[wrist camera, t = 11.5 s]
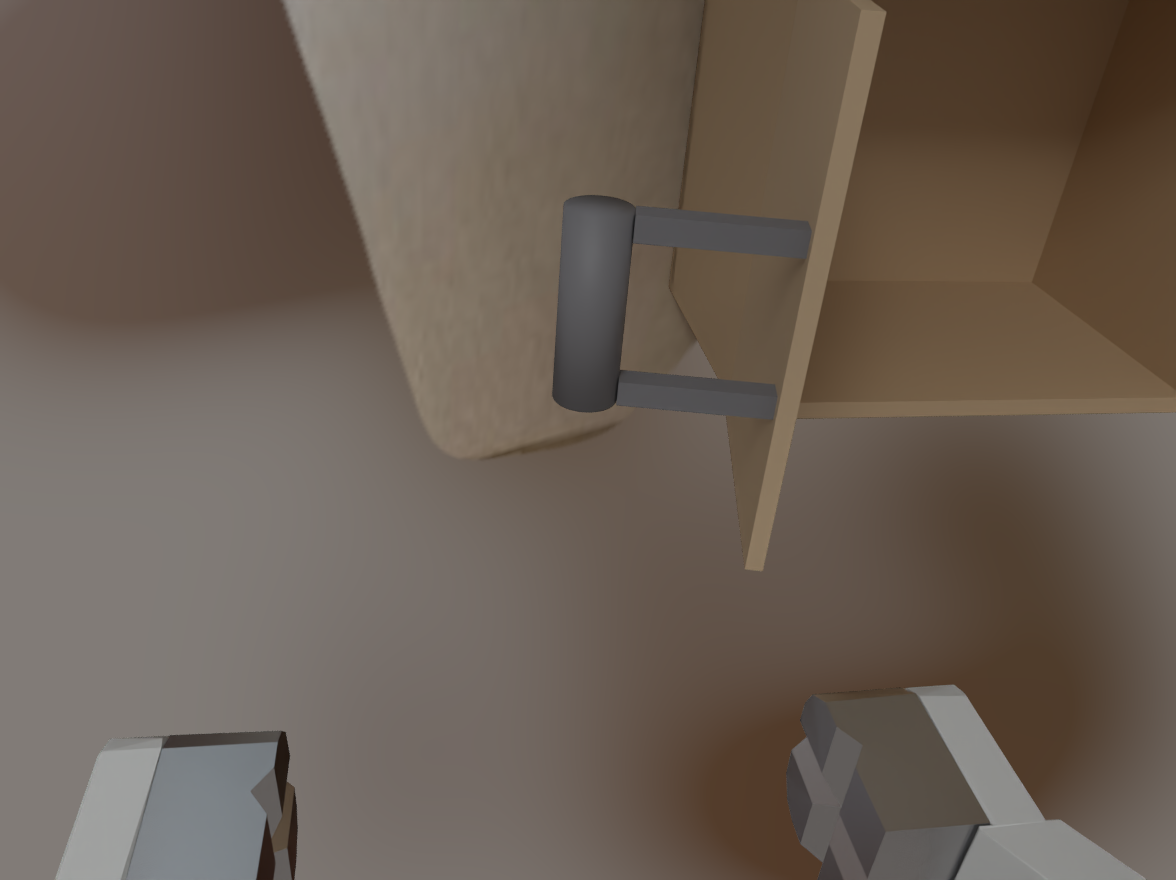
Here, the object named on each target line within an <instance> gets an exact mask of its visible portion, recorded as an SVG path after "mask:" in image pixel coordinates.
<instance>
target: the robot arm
mask: <svg viewBox="0 0 1176 880" xmlns="http://www.w3.org/2000/svg"><path fill="white" fill-rule="evenodd" d="M800 721H801V723H802V726H803V729H804V731H805V734H806V736H807V737H806V738H805V739H804V740H803V741H802V742H800V743H799V744H798V745H797V746H796V747H795V748H794V749H792V751H791V755H790V759H789V764H788V768H787V772H786V775H787V800H788V804H789V809H790V813H791V818H792V822H793V825H794V827H795V830H796V833H797V836H798V839H799V841H800V844H801V845H802V846H804V847H805V848H806V849H807V850H808V851H809V852H811V853H812V854H813V855H814V856H815V857H817V858H818V859H819V860H820V861H821V862H822V863H823V864H822V867H821V870H820V874H819V877H818V880H1147V879H1145V878H1144V877H1142V876H1141V875H1140V874H1138V873H1137V872H1135V871H1134V870H1132V869H1131V868H1129V867H1128V866H1126V865H1125V864H1124V863H1122V862H1121V861H1119V860H1117V859H1116V858H1115V857H1113V856H1112V855H1110V854H1109V853H1108V852H1106V851H1105V850H1103V849H1102V848H1100V847H1099V846H1097V845H1096V844H1095V843H1093V842H1092V841H1090V840H1089V839H1087V838H1086V837H1084V836H1083V835H1082V834H1080V833H1079V832H1077V831H1076V830H1074V829H1073V828H1071V827H1070V826H1068V825H1067V824H1066V823H1064V822H1062V821H1061V820H1060V819H1059V820H1045V819H1044V817H1043V815H1042V814H1041V812H1040V811H1039V809H1038V808H1037V806H1036V805H1035V803H1034V801H1033V800H1032V798H1031V797H1030V795H1029V794H1028V792H1027V790H1026V789H1025V787H1024V786H1023V784H1022V783H1021V781H1020V779H1019V778H1018V776H1017V775H1016V773H1015V772H1014V770H1013V768H1012V767H1011V765H1010V764H1009V763H1008V761H1007V759H1006V757H1005V756H1004V754H1003V753H1002V751H1001V750H1000V748H999V746H998V745H997V743H996V742H995V740H994V739H993V737H992V736H991V734H990V732H989V731H988V729H987V728H986V726H985V725H984V723H983V721H982V720H981V718H980V717H979V715H978V714H977V712H976V710H975V709H974V707H973V706H972V704H971V703H970V701H969V700H968V698H967V696H966V695H965V694H964V692H963V691H961V690H960V689H958V688H957V687H956V686H955V685H942V686H929V687H913V688H906V689H903V688H889V689H875V690H863V691H850V692H838V693H825V694H813V695H812V696H811V697H810V698H809V699H808V700H807V702H806V703H805V705H804V709H803V712H802V715H801V719H800ZM289 760H290V753H289V747H288V742H287V736H286V732H284V731H263V732H240V733H239V732H238V733H213V734H191V735H190V734H189V735H170V736H154V737H134V738H114V739H110V740H109V741H108V743H107V744H106V745H105V747H104V748H103V749H102V751H101V752H100V754H99V755H98V757H97V760H96V763H95V766H94V769H93V772H92V775H91V777H90V780H89V783H88V786H87V789H86V792H85V795H84V797H83V801H82V803H81V806H80V809H79V812H78V815H77V818H76V821H75V824H74V826H73V829H72V832H71V835H70V838H69V841H68V844H67V846H66V849H65V852H64V855H63V858H62V861H61V864H60V867H59V870H58V872H57V875H56V878H55V880H294V878H295V869H296V857H297V855H296V854H297V832H298V825H297V804H296V796H295V788H294V787H293V786H292V785H291V784H289V783H288V782H287V775H288V768H289Z"/></svg>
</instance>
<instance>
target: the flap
mask: <svg viewBox="0 0 1176 880" xmlns="http://www.w3.org/2000/svg"><path fill="white" fill-rule="evenodd" d="M885 17H886V11H885V10H883V9H882V8H881V7H879V6H878V5H877V4H875V3H874V2H872V1H871V0H798V2H797V8H796V14H795V20H794V25H793V31H792V37H791V42H790V48H789V54H788V60H787V65H786V71H785V77H784V83H783V88H782V94H781V100H780V105H779V111H778V117H777V123H776V128H775V134H774V140H773V146H772V151H771V157H770V163H769V169H768V174H767V180H766V186H765V191H764V197H763V203H762V209H761V214H760V217H756V216H745V215H734V214H723V213H712V212H701V211H689V210H678V209H667V208H656V207H645V206H636V208H635V207H634V206H633V205H632V204H631V203H629V202H627V201H624V200H621V199H618V198H614V197H608V196H599V195H585V196H577V197H573V198H570V199H568V200H566V201H565V202H564V208H563V224H562V241H561V258H560V274H559V291H558V308H557V324H556V341H555V358H554V374H553V391H552V396H553V399H554V400H555V401H556V402H557V403H558V404H559V405H561V406H562V407H564V408H567V409H569V410H573V411H578V412H599V411H603V410H606V409H608V408H610V407H612V406H613V405H614V404H615V403H616V400H617V403H616V405H619V406H630V407H640V408H652V409H662V410H673V411H684V412H694V413H705V414H716V415H726V420H727V428H728V436H729V445H730V453H731V461H732V469H733V478H734V486H735V493H736V501H737V511H738V519H739V527H740V535H741V543H742V552H743V559H744V567H745V570H755V571H763V567H764V563H765V558H766V554H767V549H768V545H769V540H770V536H771V531H772V527H773V522H774V518H775V513H776V509H777V504H778V500H779V495H780V491H781V486H782V482H783V477H784V472H785V468H786V464H787V459H788V455H789V450H790V446H791V441H792V436H793V432H794V428H795V423H796V419H797V414H798V409H799V405H800V400H801V396H802V391H803V387H804V382H805V378H806V373H807V369H808V364H809V360H810V355H811V351H812V346H813V342H814V337H815V333H816V328H817V324H818V319H819V315H820V310H821V306H822V301H823V297H824V292H825V288H826V283H827V279H828V274H829V270H830V265H831V261H832V256H833V251H834V247H835V242H836V238H837V233H838V229H839V224H840V220H841V215H842V211H843V206H844V202H845V197H846V193H847V188H848V184H849V179H850V175H851V170H852V166H853V161H854V157H855V152H856V148H857V143H858V139H859V134H860V130H861V125H862V121H863V116H864V112H865V107H866V103H867V98H868V93H869V89H870V84H871V80H872V75H873V71H874V66H875V62H876V57H877V53H878V48H879V44H880V39H881V35H882V30H883V26H884V21H885ZM633 243H636V244H647V245H658V246H669V247H680V248H691V249H702V250H713V251H724V252H735V253H746V254H754V255H753V260H752V266H751V272H750V277H749V283H748V289H747V295H746V300H745V306H744V312H743V318H742V323H741V329H740V335H739V341H738V346H737V352H736V358H735V363H734V369H733V375H732V380H723V379H712V378H702V377H691V376H679V375H669V374H658V373H648V372H637V371H626V370H620V362H621V352H622V343H623V333H624V323H625V313H626V303H627V294H628V284H629V274H630V264H631V254H632V245H633Z"/></svg>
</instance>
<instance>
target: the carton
mask: <svg viewBox="0 0 1176 880" xmlns="http://www.w3.org/2000/svg"><path fill="white" fill-rule="evenodd" d="M871 1H872V2H874V3H875V4H877V5H878V6H879V7H881V8H882V9H883V10H885V11H886V17H885V21H884V26H883V30H882V35H881V39H880V44H879V48H878V53H877V57H876V62H875V66H874V71H873V75H872V80H871V84H870V89H869V93H868V98H867V103H866V107H865V112H864V116H863V121H862V125H861V130H860V134H859V139H858V143H857V148H856V152H855V157H854V161H853V166H852V170H851V175H850V179H849V184H848V188H847V193H846V197H845V202H844V206H843V211H842V215H841V220H840V224H839V229H838V233H837V238H836V242H835V247H834V251H833V256H832V261H831V265H830V270H829V274H828V279H827V283H826V288H825V292H824V297H823V301H822V306H821V310H820V315H819V319H818V324H817V328H816V333H815V337H814V342H813V346H812V351H811V355H810V360H809V364H808V369H807V373H806V378H805V382H804V387H803V391H802V396H801V400H800V405H799V409H798V414H797V419H811V418H813V419H814V418H869V417H870V418H871V417H927V416H928V417H930V416H931V417H932V416H985V415H987V416H989V415H990V416H991V415H1050V414H1106V413H1168V412H1176V0H871ZM797 2H798V0H705V4H704V11H703V19H702V27H701V35H700V43H699V51H698V59H697V67H696V75H695V83H694V91H693V98H692V106H691V114H690V122H689V130H688V138H687V146H686V154H685V162H684V170H683V178H682V185H681V193H680V201H679V209H678V210H689V211H701V212H712V213H723V214H734V215H745V216H756V217H760V214H761V209H762V203H763V197H764V191H765V186H766V180H767V174H768V169H769V163H770V157H771V151H772V146H773V140H774V134H775V128H776V123H777V117H778V111H779V105H780V100H781V94H782V88H783V83H784V77H785V71H786V65H787V60H788V54H789V48H790V42H791V37H792V31H793V25H794V20H795V14H796V8H797ZM753 255H754V254H746V253H735V252H724V251H713V250H702V249H691V248H680V247H674V249H673V257H672V264H671V272H670V280H669V289H670V290H671V292H672V294H673V296H674V298H675V300H676V302H677V303H678V305H679V307H680V309H681V311H682V313H683V315H684V316H685V318H686V320H687V322H688V324H689V326H690V328H691V329H692V331H693V333H694V335H695V337H696V339H697V341H698V342H699V344H700V346H701V348H702V350H703V351H704V354H705V355H706V357H707V359H708V361H709V363H710V365H711V366H712V368H713V370H714V372H715V374H716V376H717V378H718V379H723V380H732V375H733V369H734V363H735V358H736V352H737V346H738V341H739V335H740V329H741V323H742V318H743V312H744V306H745V300H746V295H747V289H748V283H749V277H750V272H751V266H752V260H753Z"/></svg>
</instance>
